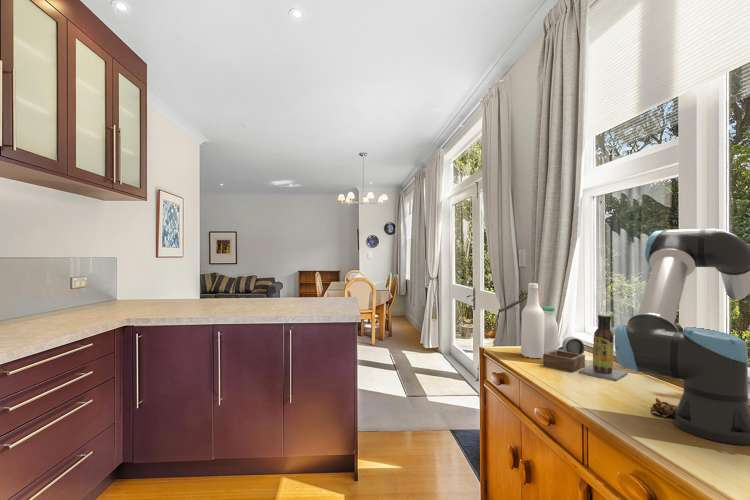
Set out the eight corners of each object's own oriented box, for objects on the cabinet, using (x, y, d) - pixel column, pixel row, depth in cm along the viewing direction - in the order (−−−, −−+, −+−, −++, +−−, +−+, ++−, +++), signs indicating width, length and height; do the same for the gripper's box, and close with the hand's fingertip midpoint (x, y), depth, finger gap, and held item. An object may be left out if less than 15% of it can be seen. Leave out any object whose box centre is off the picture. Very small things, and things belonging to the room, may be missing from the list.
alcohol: (517, 356, 165) (518, 283, 166) (525, 352, 172) (526, 282, 172) (539, 360, 159) (540, 284, 160) (547, 356, 166) (547, 283, 167)
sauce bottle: (588, 369, 144) (589, 313, 144) (601, 368, 146) (601, 313, 146) (604, 374, 138) (605, 316, 138) (617, 373, 140) (618, 315, 140)
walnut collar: (573, 372, 143) (573, 359, 143) (543, 366, 151) (543, 354, 151) (584, 367, 150) (584, 355, 150) (555, 361, 158) (555, 349, 158)
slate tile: (616, 381, 133) (616, 378, 133) (578, 373, 142) (578, 370, 142) (627, 374, 141) (627, 372, 141) (590, 367, 150) (590, 365, 150)
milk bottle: (560, 354, 170) (560, 307, 170) (555, 357, 164) (555, 308, 164) (541, 351, 175) (542, 305, 175) (535, 354, 169) (536, 306, 169)
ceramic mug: (579, 353, 173) (579, 335, 173) (585, 357, 165) (585, 338, 165) (553, 352, 175) (552, 334, 175) (557, 356, 167) (557, 337, 167)
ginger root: (678, 408, 110) (678, 395, 110) (684, 423, 100) (684, 408, 100) (648, 403, 114) (648, 390, 114) (651, 417, 103) (651, 403, 104)
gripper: (710, 352, 135) (656, 353, 131) (647, 337, 159) (600, 338, 156) (710, 329, 135) (656, 330, 131) (648, 318, 160) (600, 319, 156)
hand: (626, 335), depth 144 cm, fingers open, 13 cm apart
